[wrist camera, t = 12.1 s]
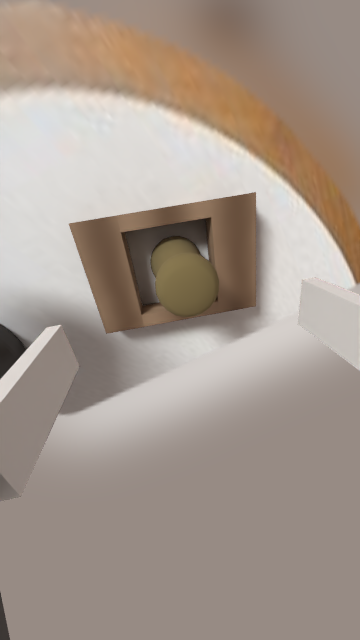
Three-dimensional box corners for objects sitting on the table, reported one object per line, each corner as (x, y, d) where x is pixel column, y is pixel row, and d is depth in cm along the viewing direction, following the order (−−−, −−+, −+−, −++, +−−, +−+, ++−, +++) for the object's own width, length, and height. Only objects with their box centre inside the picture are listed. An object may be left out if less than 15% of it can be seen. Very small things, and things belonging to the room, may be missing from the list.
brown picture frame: (110, 322, 29) (106, 333, 26) (78, 222, 24) (68, 223, 21) (246, 297, 30) (255, 306, 27) (244, 194, 24) (255, 192, 22)
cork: (204, 281, 28) (233, 319, 18) (157, 292, 28) (160, 335, 18) (196, 230, 25) (225, 242, 16) (144, 242, 25) (140, 261, 15)
